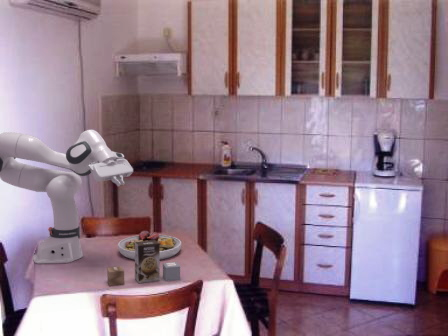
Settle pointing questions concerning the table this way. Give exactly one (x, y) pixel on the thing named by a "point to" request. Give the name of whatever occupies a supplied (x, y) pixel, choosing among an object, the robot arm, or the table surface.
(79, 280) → the table surface
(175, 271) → the grey block
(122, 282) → the brown cube
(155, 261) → the coffee box
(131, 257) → the bowl
